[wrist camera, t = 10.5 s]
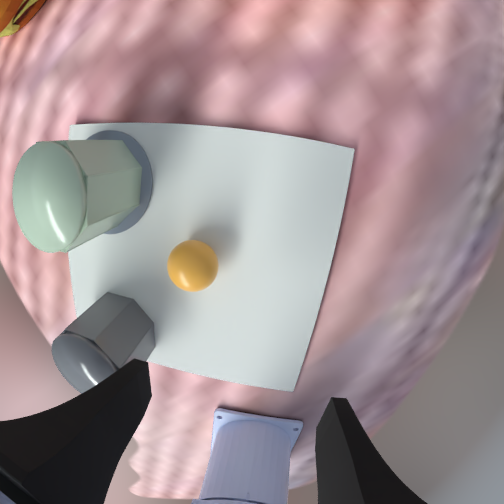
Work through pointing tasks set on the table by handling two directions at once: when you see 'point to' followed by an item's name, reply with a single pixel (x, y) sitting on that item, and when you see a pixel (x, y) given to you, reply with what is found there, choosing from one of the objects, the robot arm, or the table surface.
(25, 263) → the table surface
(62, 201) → the green acorn nut
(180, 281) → the marble
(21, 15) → the cheeseburger
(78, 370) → the grey acorn nut
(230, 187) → the mat
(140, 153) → the coaster
